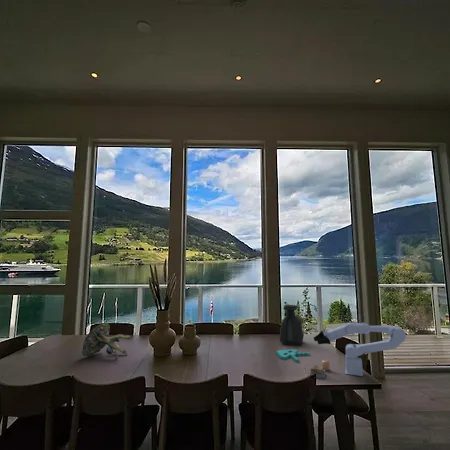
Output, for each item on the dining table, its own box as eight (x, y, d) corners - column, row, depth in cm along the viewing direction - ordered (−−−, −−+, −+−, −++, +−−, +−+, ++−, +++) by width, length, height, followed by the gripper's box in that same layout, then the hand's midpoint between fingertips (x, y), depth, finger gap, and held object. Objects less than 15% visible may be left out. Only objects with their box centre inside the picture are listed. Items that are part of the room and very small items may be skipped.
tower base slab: (325, 374, 173) (325, 370, 173) (324, 379, 166) (324, 375, 166) (311, 373, 176) (311, 368, 176) (310, 377, 169) (309, 373, 169)
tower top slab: (323, 370, 173) (323, 366, 173) (322, 374, 167) (322, 369, 167) (311, 369, 175) (311, 364, 176) (310, 373, 169) (310, 368, 170)
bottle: (279, 344, 238) (278, 306, 242) (283, 339, 253) (282, 304, 257) (301, 346, 231) (300, 307, 235) (304, 341, 246) (302, 305, 250)
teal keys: (309, 355, 208) (284, 350, 221) (309, 352, 209) (284, 347, 221) (297, 363, 193) (271, 357, 206) (297, 359, 193) (271, 354, 206)
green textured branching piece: (73, 350, 194) (124, 347, 192) (87, 318, 215) (134, 315, 214) (85, 369, 207) (134, 366, 205) (98, 337, 228) (141, 334, 227)
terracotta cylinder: (330, 369, 181) (329, 360, 181) (329, 371, 177) (329, 362, 177) (322, 368, 182) (322, 359, 183) (322, 370, 178) (321, 361, 179)
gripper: (336, 330, 187) (317, 338, 191) (330, 323, 178) (310, 331, 181) (341, 341, 183) (321, 348, 186) (335, 335, 173) (314, 343, 177)
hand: (316, 341), depth 184 cm, fingers open, 7 cm apart
